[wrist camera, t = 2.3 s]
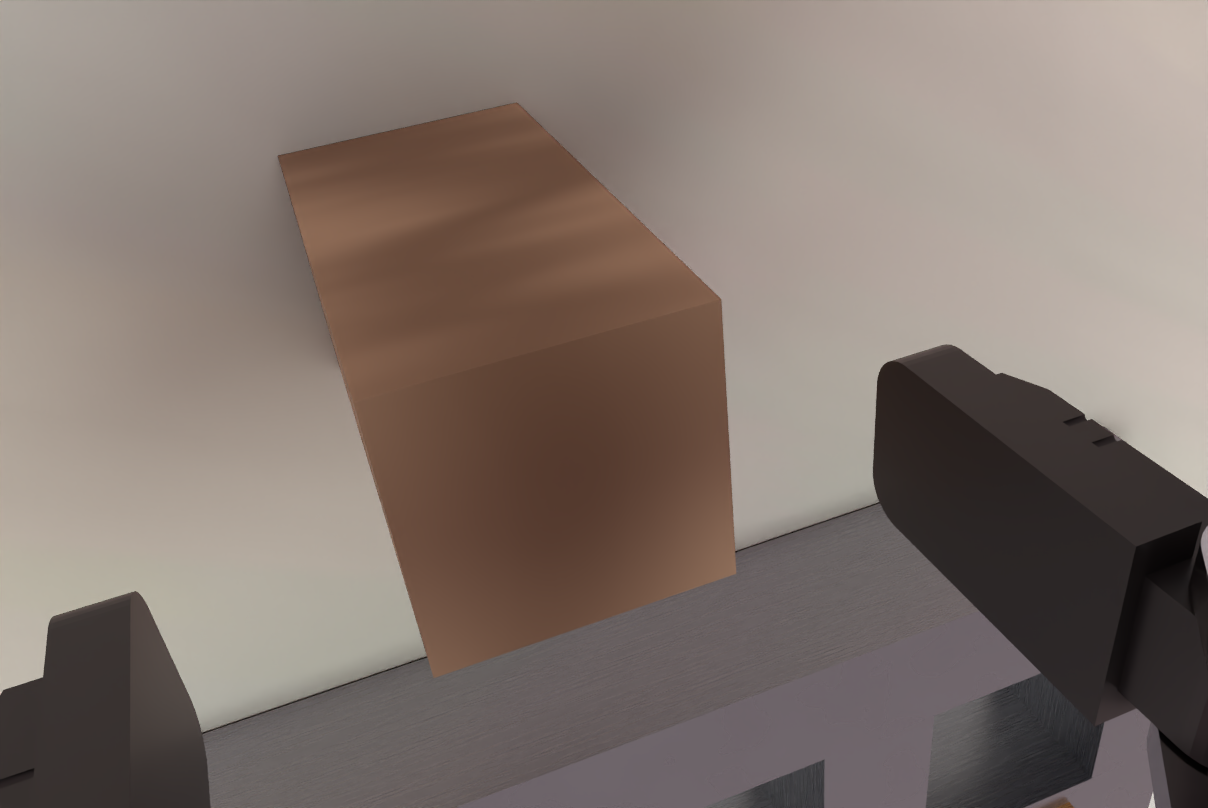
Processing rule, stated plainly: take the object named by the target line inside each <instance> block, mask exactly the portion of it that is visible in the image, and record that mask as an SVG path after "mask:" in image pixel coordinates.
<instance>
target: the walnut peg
mask: <svg viewBox="0 0 1208 808" xmlns="http://www.w3.org/2000/svg"><path fill="white" fill-rule="evenodd" d="M278 158H279V162H280V165H281V168H282V172H283V175H284V179H285V182H286V185H287V189H288V192H289V196H290V199H291V202H292V206H293V209H294V213H295V216H296V219H297V223H298V226H299V230H300V233H301V237H302V240H303V243H304V247H305V250H306V254H307V257H308V260H309V264H310V267H311V271H312V274H313V277H314V281H315V284H316V288H317V291H318V294H319V298H320V301H321V305H322V308H323V312H324V315H325V318H326V322H327V325H328V329H329V332H330V335H331V339H332V342H333V346H334V349H335V352H336V356H337V359H338V363H339V366H340V369H341V373H342V376H343V379H344V383H345V386H346V389H347V393H348V396H349V399H350V403H351V406H352V409H353V412H354V416H355V419H356V422H357V426H358V429H359V432H360V436H361V439H362V442H363V446H364V449H365V452H366V456H367V459H368V462H369V465H370V469H371V472H372V475H373V479H374V482H375V485H376V489H377V492H378V495H379V499H380V502H381V505H382V508H383V512H384V515H385V518H386V522H387V525H388V528H389V532H390V535H391V538H392V542H393V545H394V548H395V552H396V555H397V558H398V561H399V565H400V568H401V571H402V575H403V578H404V581H405V585H406V588H407V591H408V595H409V598H410V601H411V605H412V608H413V611H414V614H415V618H416V621H417V624H418V628H419V631H420V634H421V638H422V641H423V644H424V648H425V651H426V654H427V657H428V661H429V664H430V667H431V671H432V674H433V677H434V678H436V677H439V676H441V675H444V674H447V673H450V672H453V671H456V670H459V669H462V668H465V667H468V666H470V665H473V664H476V663H479V662H482V661H485V660H488V659H491V658H494V657H497V656H499V655H502V654H505V653H508V652H511V651H514V650H517V649H520V648H523V647H525V646H528V645H531V644H534V643H537V642H540V641H543V640H546V639H549V638H552V637H554V636H557V635H560V634H563V633H566V632H569V631H572V630H575V629H578V628H581V627H583V626H586V625H589V624H592V623H595V622H598V621H601V620H604V619H607V618H610V617H612V616H615V615H618V614H621V613H624V612H627V611H630V610H633V609H636V608H638V607H641V606H644V605H647V604H650V603H653V602H656V601H659V600H662V599H665V598H667V597H670V596H673V595H676V594H679V593H682V592H685V591H688V590H691V589H694V588H696V587H699V586H702V585H705V584H708V583H711V582H714V581H717V580H720V579H723V578H725V577H728V576H731V575H734V574H736V559H735V541H734V523H733V505H732V487H731V469H730V450H729V432H728V414H727V396H726V378H725V360H724V342H723V324H722V306H721V299H720V298H719V297H718V296H717V295H716V294H715V293H714V292H713V291H712V290H711V289H710V288H709V287H708V286H707V285H706V284H705V283H704V282H703V281H702V280H701V279H700V278H699V277H698V276H696V275H695V274H694V273H693V272H692V271H691V270H690V269H689V268H688V267H687V266H686V265H685V264H684V263H683V262H682V261H681V260H680V259H679V258H678V257H677V256H676V255H675V254H674V253H673V252H672V251H671V250H669V249H668V248H667V247H666V246H665V245H664V244H663V243H662V242H661V241H660V240H659V239H658V238H657V237H656V236H655V235H654V234H653V233H652V232H651V231H650V230H649V229H648V228H647V227H646V226H645V225H643V224H642V223H641V222H640V221H639V220H638V219H637V218H636V217H635V216H634V215H633V214H632V213H631V212H630V211H629V210H628V209H627V208H626V207H625V206H624V205H623V204H622V203H621V202H620V201H619V200H618V199H616V198H615V197H614V196H613V195H612V194H611V193H610V192H609V191H608V190H607V189H606V188H605V187H604V186H603V185H602V184H601V183H600V182H599V181H598V180H597V179H596V178H595V177H594V176H593V175H592V174H591V173H589V172H588V171H587V170H586V169H585V168H584V167H583V166H582V165H581V164H580V163H579V162H578V161H577V160H576V159H575V158H574V157H573V156H572V155H571V154H570V153H569V152H568V151H567V150H566V149H565V148H564V147H562V146H561V145H560V144H559V143H558V142H557V141H556V140H555V139H554V138H553V137H552V136H551V135H550V134H549V133H548V132H547V131H546V130H545V129H544V128H543V127H542V126H541V125H540V124H539V123H538V122H536V121H535V120H534V119H533V118H532V117H531V116H530V115H529V114H528V113H527V112H526V111H525V110H524V109H523V108H522V107H521V106H520V105H519V104H518V103H513V104H509V105H504V106H500V107H495V108H491V109H486V110H482V111H477V112H473V113H468V114H464V115H459V116H455V117H450V118H446V119H441V120H437V121H432V122H428V123H423V124H419V125H414V126H410V127H405V128H401V129H396V130H392V131H387V132H383V133H378V134H374V135H369V136H365V137H360V138H356V139H351V140H347V141H342V142H338V143H333V144H329V145H324V146H320V147H315V148H311V149H306V150H302V151H297V152H293V153H288V154H284V155H279V156H278Z"/></svg>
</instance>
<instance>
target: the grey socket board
mask: <svg viewBox="0 0 1208 808" xmlns="http://www.w3.org/2000/svg"><path fill="white" fill-rule="evenodd" d="M1104 428H1105V427H1104ZM1105 429H1106V428H1105ZM1107 430H1108V429H1107ZM1108 431H1109V430H1108ZM1111 433H1112V432H1111ZM1114 438H1115V440H1116V441H1120V440H1122V439H1120V438H1119V437H1118V436H1116V435H1115V434H1114ZM1124 442H1125V441H1124ZM735 559H736V574H734V575H731V576H728V577H725V578H723V579H720V580H717V581H714V582H711V583H708V584H705V585H702V586H699V587H696V588H694V589H691V590H688V591H685V592H682V593H679V594H676V595H673V596H670V597H667V598H665V599H662V600H659V601H656V602H653V603H650V604H647V605H644V606H641V607H638V608H636V609H633V610H630V611H627V612H624V613H621V614H618V615H615V616H612V617H610V618H607V619H604V620H601V621H598V622H595V623H592V624H589V625H586V626H583V627H581V628H578V629H575V630H572V631H569V632H566V633H563V634H560V635H557V636H554V637H552V638H549V639H546V640H543V641H540V642H537V643H534V644H531V645H528V646H525V647H523V648H520V649H517V650H514V651H511V652H508V653H505V654H502V655H499V656H497V657H494V658H491V659H488V660H485V661H482V662H479V663H476V664H473V665H470V666H468V667H465V668H462V669H459V670H456V671H453V672H450V673H447V674H444V675H441V676H439V677H436V678H434V677H433V674H432V671H431V667H430V664H429V661H428V657H427V658H424V659H421V660H418V661H415V662H412V663H409V664H406V665H403V666H400V667H398V668H395V669H392V670H389V671H386V672H383V673H380V674H377V675H374V676H371V677H368V678H365V679H362V680H359V681H356V682H354V683H351V684H348V685H345V686H342V687H339V688H336V689H333V690H330V691H327V692H324V693H321V694H318V695H315V696H312V697H309V698H307V699H304V700H301V701H298V702H295V703H292V704H289V705H286V706H283V707H280V708H277V709H274V710H271V711H268V712H265V713H262V714H260V715H257V716H254V717H251V718H248V719H245V720H242V721H239V722H236V723H233V724H230V725H227V726H224V727H221V728H218V729H215V730H213V731H210V732H207V733H204V734H202V736H203V741H204V745H205V751H206V757H207V766H208V779H209V792H210V806H211V808H1148V806H1149V803H1150V799H1151V796H1152V792H1153V787H1152V780H1151V774H1150V767H1149V761H1148V754H1147V742H1146V740H1147V735H1148V731H1149V727H1150V724H1151V721H1149V720H1148V719H1147V718H1146V717H1145V716H1144V715H1143V714H1142V713H1141V712H1140V711H1139V710H1138V709H1137V708H1136V709H1134V710H1132V711H1129V712H1127V713H1125V714H1122V715H1120V716H1118V717H1115V718H1113V719H1111V720H1108V721H1106V722H1104V723H1102V724H1099V725H1097V726H1094V725H1093V724H1092V723H1091V722H1090V721H1089V720H1088V719H1087V718H1086V717H1085V716H1084V715H1083V714H1082V713H1081V712H1080V711H1079V710H1078V709H1077V708H1076V707H1075V706H1074V705H1073V704H1072V703H1071V702H1070V701H1069V700H1068V699H1067V698H1066V697H1065V696H1064V695H1063V694H1062V693H1061V692H1060V691H1059V690H1058V689H1057V688H1056V687H1055V686H1054V685H1053V684H1052V683H1051V682H1050V681H1049V680H1048V679H1047V678H1046V677H1045V676H1044V675H1043V674H1042V673H1041V672H1040V671H1039V670H1038V669H1037V668H1036V667H1035V666H1034V665H1033V664H1032V663H1031V662H1030V661H1029V660H1028V659H1027V658H1026V657H1025V656H1024V655H1023V654H1022V653H1021V652H1020V651H1019V650H1018V649H1017V648H1016V647H1015V646H1014V645H1013V644H1012V643H1011V642H1010V641H1009V640H1008V639H1007V638H1006V637H1005V636H1004V635H1003V634H1002V633H1001V632H1000V631H999V630H998V629H997V628H996V627H995V626H994V625H993V624H992V623H991V622H990V621H989V620H988V619H987V618H986V617H985V616H984V615H983V614H982V613H981V612H980V611H979V610H978V609H977V608H976V607H975V606H974V605H973V604H972V603H971V602H970V601H969V600H968V599H967V598H966V597H965V596H964V595H963V594H962V593H961V592H960V591H959V590H958V589H957V588H956V587H955V586H954V585H953V584H952V583H951V582H950V581H949V580H948V579H947V578H946V577H945V576H944V575H943V574H942V573H941V572H940V571H939V570H938V569H937V568H936V567H935V566H934V565H933V564H932V563H931V562H930V561H929V560H928V559H927V558H926V557H925V556H924V555H923V554H922V553H921V552H920V551H919V550H918V549H917V548H916V547H915V546H914V545H913V544H912V543H911V542H910V541H909V540H908V539H907V538H906V537H905V536H904V535H903V534H902V533H901V532H900V531H899V530H898V529H897V528H896V527H895V526H894V525H893V524H892V522H891V521H890V520H889V518H888V517H887V515H886V514H885V512H884V510H883V508H882V506H881V504H880V503H879V504H876V505H873V506H870V507H867V508H864V509H862V510H859V511H856V512H853V513H850V514H847V515H844V516H841V517H838V518H835V519H832V520H829V521H826V522H823V523H820V524H817V525H815V526H812V527H809V528H806V529H803V530H800V531H797V532H794V533H791V534H788V535H785V536H782V537H779V538H776V539H773V540H771V541H768V542H765V543H762V544H759V545H756V546H753V547H750V548H747V549H744V550H741V551H738V552H735Z"/></svg>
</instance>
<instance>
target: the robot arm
mask: <svg viewBox="0 0 1208 808" xmlns="http://www.w3.org/2000/svg"><path fill="white" fill-rule="evenodd" d="M873 479H874V485H875V490H876V493H877V497H878V499H879V502H880V504H881V506H882V508H883V510H884V512H885V514H886V515H887V517H888V518H889V520H890V521H891V522H892V524H893V525H894V526H895V527H896V528H897V529H898V530H899V531H900V532H901V533H902V534H903V535H904V536H905V537H906V538H907V539H908V540H909V541H910V542H911V543H912V544H913V545H914V546H915V547H916V548H917V549H918V550H919V551H920V552H921V553H922V554H923V555H924V556H925V557H926V558H927V559H928V560H929V561H930V562H931V563H932V564H933V565H934V566H935V567H936V568H937V569H938V570H939V571H940V572H941V573H942V574H943V575H944V576H945V577H946V578H947V579H948V580H949V581H950V582H951V583H952V584H953V585H954V586H955V587H956V588H957V589H958V590H959V591H960V592H961V593H962V594H963V595H964V596H965V597H966V598H967V599H968V600H969V601H970V602H971V603H972V604H973V605H974V606H975V607H976V608H977V609H978V610H979V611H980V612H981V613H982V614H983V615H984V616H985V617H986V618H987V619H988V620H989V621H990V622H991V623H992V624H993V625H994V626H995V627H996V628H997V629H998V630H999V631H1000V632H1001V633H1002V634H1003V635H1004V636H1005V637H1006V638H1007V639H1008V640H1009V641H1010V642H1011V643H1012V644H1013V645H1014V646H1015V647H1016V648H1017V649H1018V650H1019V651H1020V652H1021V653H1022V654H1023V655H1024V656H1025V657H1026V658H1027V659H1028V660H1029V661H1030V662H1031V663H1032V664H1033V665H1034V666H1035V667H1036V668H1037V669H1038V670H1039V671H1040V672H1041V673H1042V674H1043V675H1044V676H1045V677H1046V678H1047V679H1048V680H1049V681H1050V682H1051V683H1052V684H1053V685H1054V686H1055V687H1056V688H1057V689H1058V690H1059V691H1060V692H1061V693H1062V694H1063V695H1064V696H1065V697H1066V698H1067V699H1068V700H1069V701H1070V702H1071V703H1072V704H1073V705H1074V706H1075V707H1076V708H1077V709H1078V710H1079V711H1080V712H1081V713H1082V714H1083V715H1084V716H1085V717H1086V718H1087V719H1088V720H1089V721H1090V722H1091V723H1092V724H1093V725H1094V726H1097V725H1099V724H1102V723H1104V722H1106V721H1108V720H1111V719H1113V718H1115V717H1118V716H1120V715H1122V714H1125V713H1127V712H1129V711H1132V710H1134V709H1136V708H1137V709H1138V710H1139V711H1140V712H1141V713H1142V714H1143V715H1144V716H1145V717H1146V718H1147V719H1148V720H1149V721H1151V724H1150V727H1149V731H1148V735H1147V740H1146V742H1147V754H1148V761H1149V767H1150V774H1151V780H1152V787H1153V793H1154V800H1155V806H1156V808H1208V498H1206V497H1205V496H1203V495H1202V494H1200V493H1199V492H1197V491H1196V490H1194V489H1193V488H1191V487H1190V486H1189V485H1187V484H1186V483H1184V482H1183V481H1181V480H1180V479H1178V478H1177V477H1175V476H1174V475H1173V474H1171V473H1170V472H1168V471H1167V470H1165V469H1164V468H1162V467H1161V466H1159V465H1158V464H1156V463H1155V462H1154V461H1152V460H1151V459H1149V458H1148V457H1146V456H1145V455H1143V454H1142V453H1140V452H1139V451H1137V450H1136V449H1135V448H1133V447H1132V446H1130V445H1129V444H1127V443H1126V442H1124V441H1123V440H1120V441H1116V440H1115V438H1114V434H1113V433H1111V432H1110V431H1108V430H1107V429H1105V428H1104V427H1102V426H1101V425H1100V424H1098V423H1097V422H1095V421H1094V420H1092V419H1091V420H1088V421H1087V420H1086V418H1085V414H1083V413H1082V412H1081V411H1079V410H1078V409H1076V408H1075V407H1073V406H1072V405H1070V404H1069V403H1067V402H1066V401H1065V400H1063V399H1062V398H1060V397H1059V396H1057V395H1056V394H1054V393H1053V392H1051V391H1050V390H1048V389H1046V388H1043V387H1040V386H1037V385H1034V384H1032V383H1029V382H1026V381H1023V380H1020V379H1018V378H1015V377H1012V376H1009V375H1006V374H1003V373H1000V374H997V375H996V374H994V373H993V372H992V371H990V370H989V369H987V368H986V367H985V366H983V365H982V364H980V363H979V362H977V361H976V360H975V359H973V358H972V357H970V356H969V355H968V354H966V353H965V352H963V351H962V350H961V349H959V348H957V347H955V346H952V345H942V346H938V347H935V348H932V349H929V350H925V351H922V352H919V353H916V354H912V355H909V356H906V357H903V358H899V359H896V360H893V361H890V362H887V363H886V364H884V365H883V367H882V368H881V370H880V372H879V375H878V381H877V398H876V419H875V439H874V460H873ZM0 808H211V806H210V792H209V779H208V766H207V757H206V751H205V745H204V741H203V736H202V732H201V728H200V725H199V721H198V718H197V715H196V712H195V709H194V706H193V704H192V701H191V699H190V697H189V694H188V692H187V690H186V688H185V686H184V684H183V682H182V679H181V677H180V675H179V673H178V671H177V669H176V666H175V664H174V662H173V660H172V658H171V656H170V654H169V651H168V649H167V647H166V645H165V643H164V641H163V638H162V636H161V634H160V632H159V630H158V628H157V626H156V623H155V621H154V619H153V617H152V615H151V613H150V610H149V608H148V606H147V604H146V602H145V601H144V599H143V598H142V596H141V595H140V594H139V593H138V592H136V591H134V592H131V593H128V594H125V595H121V596H118V597H115V598H111V599H108V600H105V601H102V602H98V603H95V604H92V605H89V606H85V607H82V608H79V609H76V610H72V611H69V612H66V613H63V614H59V615H56V616H54V617H52V618H51V620H50V622H49V627H48V634H47V645H46V655H45V665H44V675H43V678H40V679H37V680H34V681H30V682H27V683H24V684H21V685H18V686H15V687H12V688H9V689H5V690H3V692H2V693H1V695H0Z"/></svg>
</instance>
